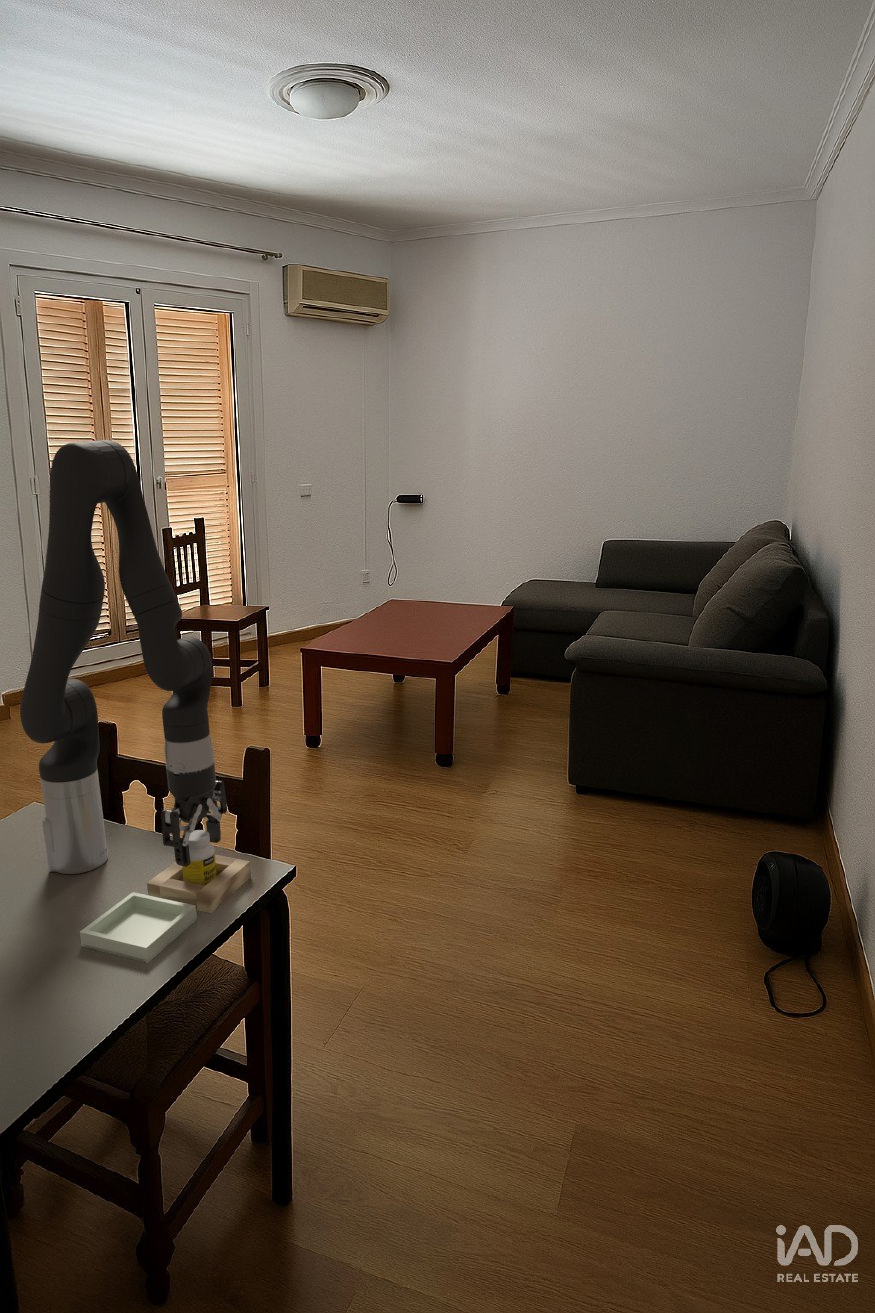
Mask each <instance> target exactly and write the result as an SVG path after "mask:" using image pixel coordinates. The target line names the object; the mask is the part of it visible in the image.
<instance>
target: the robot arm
mask: <svg viewBox="0 0 875 1313" xmlns="http://www.w3.org/2000/svg"><path fill="white" fill-rule="evenodd" d="M53 456H54V457H53V459H52V460H51V461H52V462H51V465H50V466H51V467H50V474H49V475H50V477H49V514H48V515H49V516H48V517H49V519H48V521H49V522H48V523H49V524H48V535H47V536H48V537H47V545H46V554H45V565H44V573H43V578H42V584H41V590H40V597H39V605H38V606H39V607H38V616H37V617H38V618H37V625H36V626H37V627H36V632H35V639H34V644H33V650H32V655H31V660H30V665H29V667H28V673H27V677H26V680H25V684H24V688H23V690H22V691H23V692H22V696H21V700H20V708H19V715H20V722H21V725H22V728H23V731H24V733H25V734H26V736H27V737H28V738H29V739H30V740H32V741H33V742H35V743H38V744H49V743H53V744H52V746H51V747H50V748H49V749H48V751H46V752H45V754H43V756H42V757H41V758H40V760H39V762H38V772H39V777H40V778H39V779H40V786H41V793H42V800H43V808H44V816H45V817H44V819H43V821H42V831H43V837H44V843H45V846H44V847H45V853H46V859H47V865H48V866H47V867H48V872H49V873H51V872H54V873H59V874H63V875H73V874H75V875H76V874H82V873H86V872H90V871H92V870H95V869H97V868H99V867H101V866H102V865H103V864H105V863H106V861H107V860H108V857H109V856H108V845H107V839H106V828H105V822H104V814H103V805H102V796H101V787H100V781H99V780H100V779H99V771H98V762H97V761H98V757H99V755H100V745H101V744H100V734H99V728H100V727H99V716H98V708H97V707H98V706H97V703H96V699H95V696H94V694H93V692H92V690H91V688H90V687H89V686H88V685H87V683H85V682H84V681H82V680H80V679H77V678H69V677H70V674H71V671H72V669H73V668H74V665H75V663H76V662H77V661H78V658H80V656H81V654H82V653H83V651H84V650H85V648H86V647H87V645H88V643H89V642H90V641H91V639H92V637H93V636H94V634H95V632H96V630H97V629H98V625H99V623H100V621H101V620H100V619H101V616H102V609H103V605H104V604H103V603H104V597H105V593H106V592H105V589H106V582H105V577H104V573H103V570H102V567H101V565H100V562H99V560H98V558H97V556H96V552H95V551H94V548H93V543H92V530H93V525H94V523H93V522H94V516H95V514H96V508H97V506H98V504H103V503H105V505H106V507H107V509H108V511H109V512H110V515H111V516H112V519H113V522H114V525H115V528H116V532H117V538H118V576H119V582H120V585H121V586H120V587H121V590H122V593H123V595H124V598H125V599H126V602H127V604H128V606H129V608H130V611H131V613H132V616H133V617H134V618H133V619H134V621H135V622H136V624H137V629H138V638H139V643H140V649H141V654H142V660H143V665H144V668H145V672H146V673H147V674H148V677H149V678H150V680H151V681H152V683H154V684H155V685H156V686H157V687H158V688H160V689H162V691H163V690H164V691H167V692H172V694H171V696H170V698H169V699H168V701H166V702H165V704H164V705H163V707H162V711H161V712H162V713H161V714H162V716H161V717H162V718H161V720H162V725H163V726H162V727H163V736H164V759H165V760H164V761H165V770H166V779H167V789H168V792H169V793H170V794H171V795H172V796H173V798H174V802H173V803H174V804H173V807H172V808H170V809H162V810H161V812H160V816H161V817H160V818H161V831H162V832H161V833H162V844H163V845H164V846H165V847H171V848H173V850H174V858H175V859H174V860H175V861H174V862H176V863H177V864H178V865H180V866H185V867H187V866H188V865H190V863H191V862H190V853H189V844H187V843H188V840H189V837H190V834H191V833H192V832H193V831H195V828H196V825H197V824H198V823H199V822H200V821H201V820H202V819H205V820H206V821H205V825H206V826H205V827H206V831H207V832H208V833H209V836H210V842H209V843H213V844H218V843H219V842H221V840H222V838H221V836H222V832H221V820H222V816H223V814H227V812H228V802H227V796H226V788H225V782H224V781H223V780H217V777H216V776H217V775H216V766H215V764H216V763H215V756H214V745H213V742H212V738H211V737H212V736H211V732H210V731H211V730H210V721H209V719H210V718H209V711H208V705H209V702H210V695H211V686H212V680H213V679H212V678H213V661H212V660H213V659H212V657H211V653H210V651H209V649H208V647H207V645H206V644H205V643H204V642H203V641H202V640H200V639H198V638H196V637H193V636H187V637H182V638H179V639H178V638H177V633H176V625H177V624H178V623H179V622H180V620H181V619H182V618H183V610H182V608H181V605H180V602H179V600H178V598H177V597H178V596H176V593H175V590H174V588H173V586H172V583H171V582H170V579H169V576H168V575H167V573H166V570H165V568H164V564H163V562H162V559H161V556H160V554H159V551H158V547H157V544H156V539H155V536H154V534H153V533H154V532H153V529H152V525H151V520H150V518H149V517H150V516H149V513H148V509H147V506H146V505H147V504H146V503H145V498H144V495H143V490H142V486H141V482H140V478H139V476H138V471H137V468H136V466H135V463H134V460H133V459H132V456H131V455H130V452H128V450H127V449H126V448H125V447H124V446H123V445H122V444H121V443H119V442H116V441H114V440H109V439H101V440H100V439H99V440H87V441H86V440H85V441H75V442H68V443H66V444H64V445H62V446H60V448H59V449H57V451H56V452H55V454H54V455H53ZM218 802H219V804H220V805H219V804H218ZM181 822H183V823H186V824H187V825H184V824H181ZM181 832H183V834H182V837H181Z"/></svg>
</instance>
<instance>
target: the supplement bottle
mask: <svg viewBox="0 0 875 1313" xmlns="http://www.w3.org/2000/svg"><path fill="white" fill-rule="evenodd" d="M187 844H189V853H190V862H191V863H190V865H188V866H187V867H185V866H182V870H183V881H184V882H189V883H194V884H199V885H204V886H206V885H207V884H208V883H209V882H210V881H212V880H213V879H214V878H215V877H216V862H215V855H216V851H215V847H214V845H213V844H212V842H210V836H209V833H208V832H207V830H204V829H197V830H195V829H194V831H193V832H192V833H191V834H190V837H189V840H188V843H187Z"/></svg>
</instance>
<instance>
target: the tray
mask: <svg viewBox="0 0 875 1313" xmlns="http://www.w3.org/2000/svg"><path fill="white" fill-rule="evenodd" d="M197 916H198V915H197V910H196V906H195V905H190V904H186V903H181V902H176V901H172V900H167V899H162V898H158V897H153V896H149V895H148V894H144V893H143V894H142V893H139V892H135V891H133V892H131V893H130V894H128V895H127V896H125V897H124V898H123V899H122V900H120V901H119V902H118V903H116V904H114V905H113V906H112V907H111V908H110V909H108V910H106V912H104V913H103V914H102V915H100V916H99V917H98V918H96V919H94V921H92V922H91V923H90V924H88V925H87V926H86V927H84V928H82V929H81V930H80V931H79V937H80V938H79V939H80V943H81V944H80V946H81V947H83V948H85V949H90V950H94V951H98V952H101V953H104V954H105V953H106V954H109V955H114V956H118V957H122V958H126V959H131V960H133V961H139V962H143V963H146V964H148V963H150V962H151V961H152V960H153V959H154V958H156V956H157V955H159V954H160V953H161V952H162V951H163V950H165V948H167V947H168V946H169V945H171V943H172V942H174V941H175V940H176V939H177V938H178V937H179V936H180V935H181V934H183V933H184V932H185V931H186V930H187V929H188V928H190V926H192V925H193V924H194V923H195V922H196V921H197V920H198V917H197Z"/></svg>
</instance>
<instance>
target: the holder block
mask: <svg viewBox="0 0 875 1313" xmlns="http://www.w3.org/2000/svg"><path fill="white" fill-rule="evenodd" d="M215 862H216V877H215V878H214V879H213V880H212V881H210V882H209V883H208V884H207V885H206V886H204V885H199V884H194V883H189V882H184V881H183V870H182V866H180V865H178V864H177V863H176V861H174V862H173V863H171V864H170V865H168V867H166V868H165V869H164V870H162V871H161V872H160V873H158V874H157V875H156V876H154V877H153V878H151V879H150V880H149V881H148V882H146V886H147V895H149V896H153V897H158V898H162V899H167V900H172V901H176V902H181V903H186V904H190V905H195V906H196V911H200V912H204V913H209V914H212V912H214V911H215V909H217V908H219V906H220V905H221V904H222V903H224V902H225V901H226V900H227V899H228V898H229V897H231V896H232V895H233V894H234V893H235V892H236V891H237V890H238V889H239V888H241V885H242V884H243V885H244V884H245V883H246V882H247V881H248V880H250V879H251V878H252V871H251V870H252V869H251V860H245V859H240V858H237V857H236V858H234V857H229V856H225V855H220V854H219V855H218V854H215ZM244 882H245V883H244ZM243 885H242V886H243Z"/></svg>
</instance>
